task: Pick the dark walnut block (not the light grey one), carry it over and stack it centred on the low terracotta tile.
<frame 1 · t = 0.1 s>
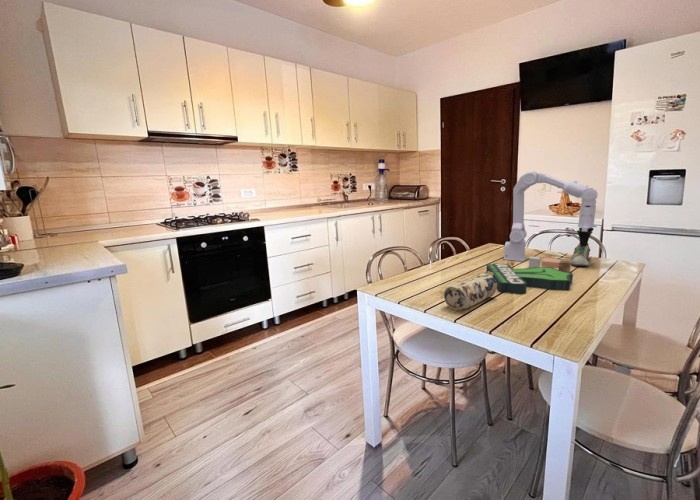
hand: (583, 244, 156), 10 cm above the table, fingers open, 7 cm apart
terracotta tile: (550, 266, 160), on the table
light grey block: (534, 268, 157), on the table
emblem: (530, 283, 138), on the table
pencil case: (470, 304, 119), on the table
walnut block: (564, 272, 149), on the table
sneaker: (580, 263, 163), on the table
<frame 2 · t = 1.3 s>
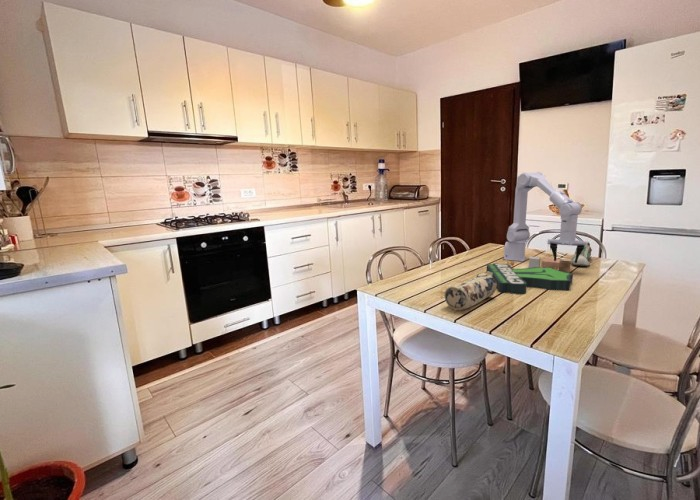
hand: (565, 261, 148), 5 cm above the table, fingers open, 7 cm apart
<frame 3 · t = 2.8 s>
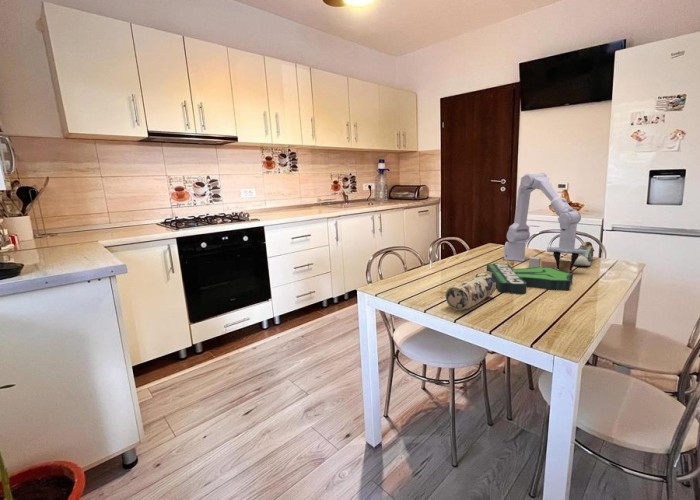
hand: (564, 269, 148), 1 cm above the table, fingers closed on walnut block, 4 cm apart
walnut block: (564, 272, 149), on the table, touching gripper
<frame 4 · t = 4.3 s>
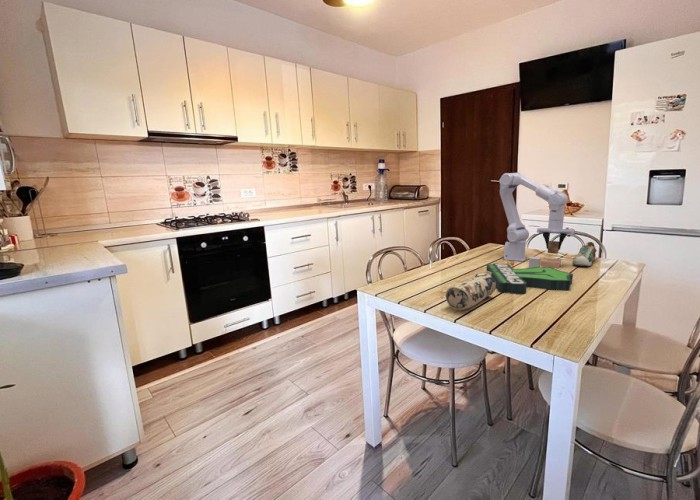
hand: (553, 248, 157), 8 cm above the table, fingers closed on walnut block, 4 cm apart
walnut block: (552, 252, 158), point 7 cm above the table, touching gripper
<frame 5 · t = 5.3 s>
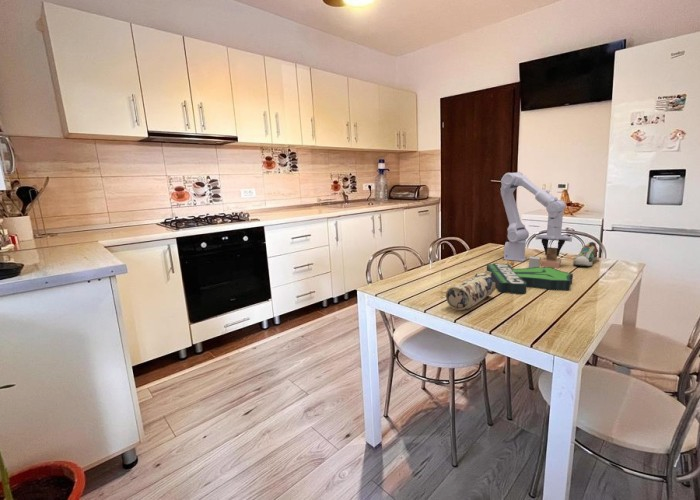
hand: (551, 255, 159), 5 cm above the table, fingers closed on walnut block, 4 cm apart
walnut block: (551, 258, 159), point 3 cm above the table, touching gripper
when the fingers open (5 cm above the table, at t = 5.8 s): walnut block stays where it is, resting on terracotta tile.
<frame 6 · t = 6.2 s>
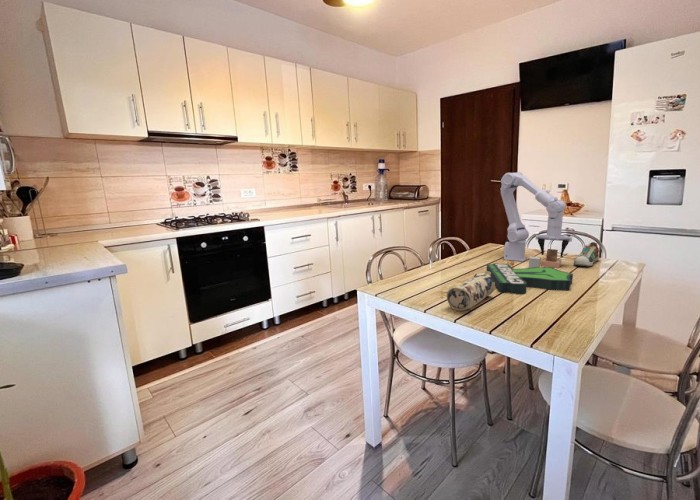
hand: (551, 255, 159), 5 cm above the table, fingers open, 7 cm apart
terracotta tile: (550, 266, 160), on the table, touching walnut block
walnut block: (551, 260, 159), point 3 cm above the table, touching terracotta tile
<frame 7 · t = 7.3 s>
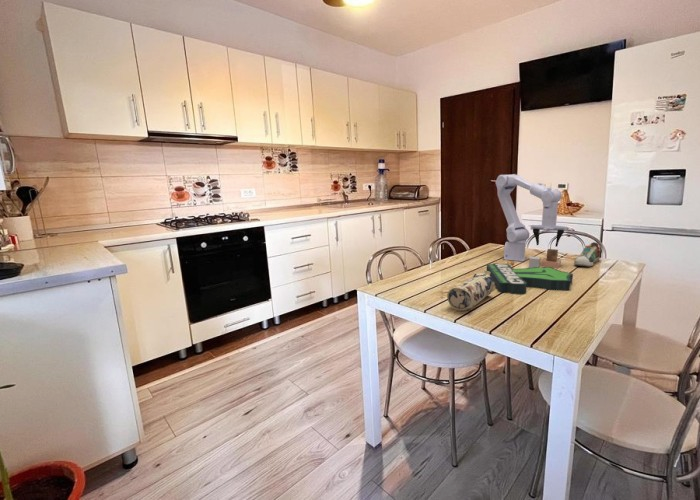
hand: (546, 245, 158), 10 cm above the table, fingers open, 7 cm apart
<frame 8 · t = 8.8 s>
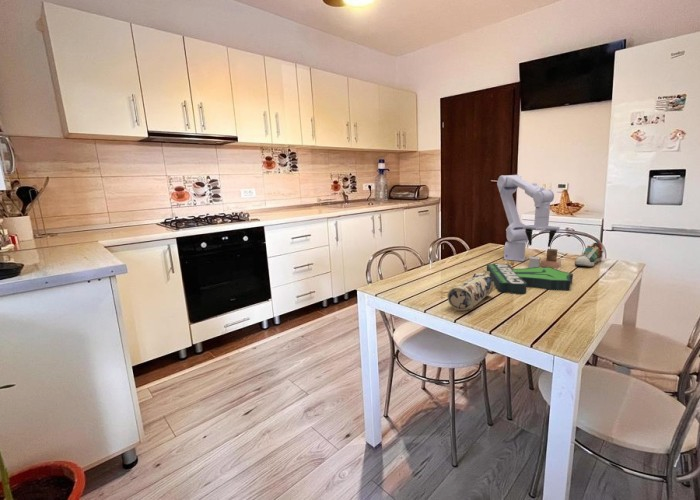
hand: (539, 245, 158), 10 cm above the table, fingers open, 7 cm apart
at the end: walnut block 0.1 cm off-centre on the terracotta tile, point 3.0 cm above the terracotta tile's base; walnut block tilted 0°; the gripper is holding nothing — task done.
